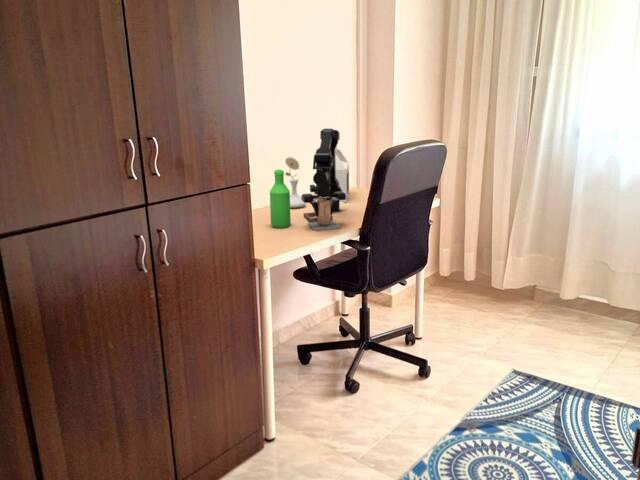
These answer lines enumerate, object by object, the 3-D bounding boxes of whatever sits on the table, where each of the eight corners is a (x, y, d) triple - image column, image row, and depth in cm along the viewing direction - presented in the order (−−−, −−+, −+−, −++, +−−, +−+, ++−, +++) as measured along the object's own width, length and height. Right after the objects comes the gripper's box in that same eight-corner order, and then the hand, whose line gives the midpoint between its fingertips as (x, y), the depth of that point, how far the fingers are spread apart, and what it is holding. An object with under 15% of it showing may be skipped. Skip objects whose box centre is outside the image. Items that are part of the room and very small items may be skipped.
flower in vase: (310, 207, 286) (309, 157, 279) (291, 210, 280) (289, 160, 272) (296, 202, 296) (295, 154, 289) (277, 205, 290) (275, 156, 283)
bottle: (268, 224, 254) (266, 169, 247) (286, 222, 257) (284, 167, 250) (274, 229, 246) (272, 172, 239) (293, 227, 250) (291, 170, 242)
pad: (333, 222, 257) (333, 220, 257) (341, 228, 246) (341, 227, 246) (307, 224, 254) (307, 222, 254) (314, 231, 243) (314, 229, 243)
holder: (325, 215, 270) (325, 211, 269) (332, 220, 259) (332, 216, 259) (303, 216, 267) (303, 213, 266) (309, 222, 257) (309, 218, 256)
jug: (334, 225, 245) (334, 202, 242) (320, 226, 244) (320, 203, 241) (327, 219, 254) (327, 198, 251) (314, 221, 253) (314, 199, 250)
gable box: (325, 194, 316) (324, 143, 308) (349, 194, 314) (349, 143, 306) (321, 203, 295) (320, 149, 287) (346, 203, 293) (346, 149, 285)
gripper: (338, 176, 254) (338, 210, 259) (298, 179, 249) (299, 213, 254) (346, 180, 244) (346, 216, 248) (304, 183, 239) (305, 219, 244)
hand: (323, 216), depth 249 cm, fingers closed on jug, 6 cm apart
